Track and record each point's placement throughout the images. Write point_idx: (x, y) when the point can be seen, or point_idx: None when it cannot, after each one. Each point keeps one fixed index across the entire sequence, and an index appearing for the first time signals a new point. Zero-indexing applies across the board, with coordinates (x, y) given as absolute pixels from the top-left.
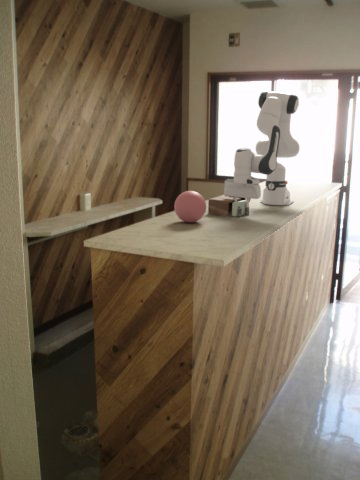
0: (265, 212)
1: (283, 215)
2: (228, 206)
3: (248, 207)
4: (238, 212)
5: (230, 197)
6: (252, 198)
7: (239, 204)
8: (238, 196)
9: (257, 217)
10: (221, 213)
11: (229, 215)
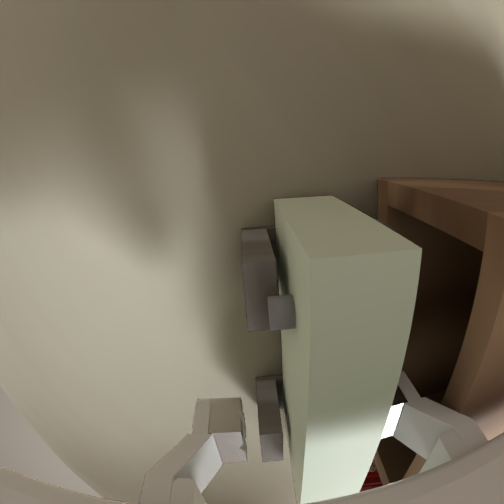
0: (218, 492)
1: (83, 463)
2: (444, 216)
3: (261, 451)
4: (260, 244)
5: None
6: (52, 485)
7: (301, 362)
8: (391, 497)
9: (102, 336)
10: (457, 181)
11: (378, 220)
